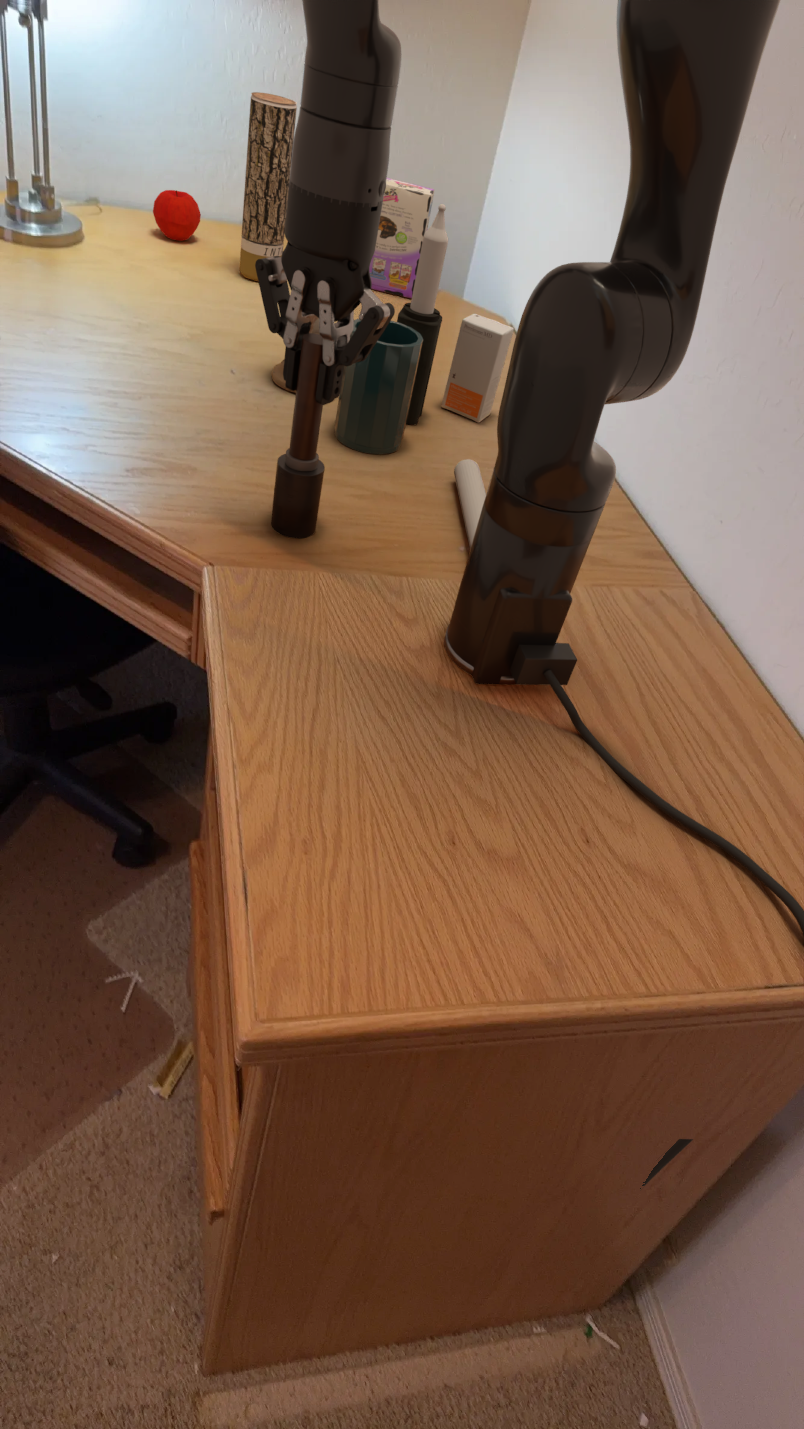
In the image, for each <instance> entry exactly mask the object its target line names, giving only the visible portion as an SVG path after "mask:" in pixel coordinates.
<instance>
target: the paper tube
mask: <svg viewBox="0 0 804 1429" xmlns="http://www.w3.org/2000/svg"><path fill="white" fill-rule="evenodd" d="M250 94H251V96H250V103H249V104H250V105H249V117H248V131H247V132H248V134H247V148H246V162H245V178H244V190H243V191H244V192H243V206H242V207H243V208H242V221H241V222H242V223H241V224H242V225H241V238H240V251H239V252H240V253H239V266H238V267H239V272H240V274H241V275H242V276H243V277H245V278H246V279H248V280H251V281H255V282H258V277H257V273H256V268H255V263H256V261H257V260H258V259H262V258H268V257H273V256H280V257H282V253H283V251H284V242H285V232H284V231H285V221H286V211H287V200H288V190H289V180H290V170H291V160H292V149H293V141H294V135H295V130H296V118H297V110H298V108H297V107H298V106H297V104H298V102H297V101H295V100H293V99H290V98H288V97H284V96H281V95H277V94H273V93H267V92H260V91H259V92H258V91H253V92H251V93H250Z"/></svg>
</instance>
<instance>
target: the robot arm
mask: <svg viewBox="0 0 804 1429" xmlns="http://www.w3.org/2000/svg"><path fill="white" fill-rule="evenodd" d="M301 2H302V10H303V18H304V19H303V20H304V23H305V24H304V26H305V33H306V34H305V35H306V47H305V54H304V63H303V73H302V81H301V82H302V83H301V92H300V103H299V104H300V106H299V111H298V118H297V121H296V125H295V131H294V141H293V149H292V160H291V170H290V180H289V190H288V200H287V211H286V221H285V231H284V232H285V234H284V238H285V239H286V241H287V242H286V245H285V246H284V247H285V248H283V253H282V257H280V256H273V257H268V258H262V259H258V260H257V261H256V263H255V268H256V273H257V277H258V281H257V282H258V286H259V290H260V295H261V300H262V304H263V308H264V313H265V317H266V322H267V327H268V329H269V331H270V332H271V333H272V334H277V335H278V336H279V337H280V338H281V339H282V341H283V344H284V346H285V348H284V349H285V351H284V359H283V360H284V368H283V377H284V380H285V381H286V383H285V386H286V388H288V389H290V390H292V391H295V390H296V388H297V380H298V371H299V363H300V354H301V346H302V337H303V335H305V334H309V333H312V330H313V326H314V323H315V321H316V320H317V319H318V318H319V333H320V336H322V338H323V361H324V362H322V363H320V368H319V376H318V383H317V391H316V398H315V400H316V402H317V403H319V404H321V405H323V406H326V405H328V404H331V403H333V402H334V401H335V399H337V398H338V399H339V394H340V391H341V385H342V378H343V372H344V366H350V365H352V364H354V363H357V362H361V361H364V360H365V359H366V358H367V356H368V355H369V353H370V352H371V350H372V349H373V347H374V345H375V344H376V342H377V341H378V339H379V338H380V336H381V335H382V333H383V332H384V330H385V328H386V327H387V325H388V324H389V322H390V321H392V319H393V317H394V316H395V313H396V311H395V306H394V305H393V304H392V303H391V302H386V303H384V302H382V300H381V299H380V298H379V297H378V296H377V295H376V294H375V292H373V289H371V287H372V282H371V277H370V270H369V267H370V263H371V260H372V257H373V255H374V252H375V247H376V241H377V235H378V228H379V222H380V216H381V210H382V203H383V197H384V192H385V189H386V179H387V178H388V172H389V165H390V153H391V135H392V134H391V133H392V126H393V120H394V113H395V107H396V102H397V101H396V100H397V95H398V88H399V82H400V76H401V67H402V44H401V42H400V38H399V37H398V35H397V34H396V32H395V31H394V30H392V29H391V27H389V26H387V25H386V24H384V23H382V21H381V17H380V8H379V6H380V5H379V0H301ZM780 3H781V0H617V3H616V4H617V5H616V21H615V22H616V23H615V25H616V44H617V56H618V66H619V74H620V80H621V89H622V96H623V103H624V109H625V116H626V117H625V118H626V122H627V131H628V140H629V174H628V176H629V177H628V185H627V190H626V191H627V192H626V197H625V202H624V208H623V213H622V218H621V221H620V226H619V230H618V233H617V238H616V241H615V244H614V248H613V251H612V254H611V257H610V260H609V261H579V262H570V263H565V264H561V265H559V266H556V267H554V268H553V269H551V270H550V271H548V272H547V273H546V274H545V275H544V276H543V277H542V278H541V279H540V280H539V282H538V283H537V284H536V286H535V287H534V289H533V291H532V292H531V294H530V295H529V298H528V299H527V301H526V304H525V306H524V309H523V311H522V314H521V317H520V321H519V324H518V327H517V331H516V334H515V339H514V342H513V346H512V352H511V356H510V361H509V365H508V370H507V373H506V374H507V375H506V380H505V383H504V388H503V392H502V396H501V401H500V405H499V410H498V416H497V424H496V425H497V426H496V436H497V438H496V439H497V456H496V459H495V464H494V466H493V471H492V473H491V477H490V481H489V483H488V487H487V490H486V497H485V501H484V504H483V507H482V511H481V514H480V518H479V521H478V525H477V528H476V532H475V535H474V539H473V542H472V546H471V549H470V548H469V554H468V556H467V560H466V563H465V567H464V571H463V574H462V578H461V580H460V585H459V588H458V591H457V596H456V599H455V601H454V606H453V610H452V613H451V617H450V621H449V624H448V625H447V628H446V630H445V634H444V637H443V638H444V639H443V646H444V650H445V653H446V654H447V656H448V658H449V659H450V660H451V661H452V662H453V663H454V665H456V667H457V668H459V669H460V670H462V671H463V672H465V673H466V674H468V675H470V676H471V678H472V679H473V681H474V683H475V684H476V685H499V686H500V685H503V686H514V685H515V686H516V685H517V686H525V685H526V686H549V687H550V688H551V689H552V691H553V692H554V694H555V695H556V697H557V698H558V700H559V702H560V703H561V705H562V706H563V708H564V710H565V711H566V713H567V715H568V717H569V719H570V721H571V723H572V725H573V727H574V728H575V730H576V731H577V732H578V733H579V735H580V736H581V737H582V738H583V740H584V741H585V742H586V743H587V744H588V746H590V747H591V748H592V750H594V751H595V752H596V753H597V754H598V756H600V757H601V758H602V760H603V761H604V762H605V763H606V764H607V765H608V766H609V767H610V768H611V769H612V770H613V771H614V773H615V774H616V775H618V776H619V777H620V778H621V779H622V780H624V781H625V782H626V783H627V784H628V785H629V786H631V788H633V789H635V791H637V792H638V793H639V794H640V795H641V796H642V797H644V798H645V799H646V800H648V802H649V803H651V804H652V805H654V806H655V807H656V808H657V809H659V810H660V811H661V812H663V813H664V814H665V815H667V816H669V817H670V818H672V819H673V820H675V821H676V822H678V823H679V824H681V825H682V826H683V827H685V828H687V829H689V830H690V831H692V832H693V833H695V834H697V835H698V836H700V837H702V838H703V839H705V840H706V841H709V842H710V843H712V844H713V845H715V846H716V847H717V848H719V849H721V850H723V851H724V852H725V853H726V854H728V855H729V856H730V857H732V858H733V859H735V860H736V861H737V862H738V863H739V864H741V865H742V866H743V867H744V868H745V869H746V870H747V871H748V872H750V873H751V874H752V875H753V876H754V877H755V878H756V879H758V880H759V882H761V883H762V884H763V885H764V886H765V887H767V889H769V891H770V892H772V893H773V894H774V895H775V896H776V897H777V898H778V899H779V900H780V901H781V902H782V903H783V904H784V905H785V906H786V907H787V909H788V910H789V911H790V913H791V914H792V916H793V917H794V918H795V920H796V922H797V924H798V926H799V928H800V931H801V933H802V936H803V937H804V908H803V907H802V906H801V904H800V903H799V902H798V900H796V898H795V897H794V896H793V895H792V894H791V893H790V892H789V891H788V890H787V889H786V888H785V887H784V886H783V885H782V884H780V882H778V881H777V880H776V879H775V878H773V876H771V875H770V874H769V873H768V872H767V871H766V870H764V869H763V868H762V867H761V866H760V865H759V864H757V862H755V861H754V860H753V859H752V858H751V857H750V856H748V855H747V854H746V853H745V852H743V851H742V850H741V849H740V848H738V847H737V846H736V845H734V844H733V843H731V842H730V841H728V840H727V839H725V838H724V837H723V836H721V835H719V834H717V833H716V832H715V831H712V830H711V829H710V828H708V827H707V826H704V825H703V824H701V823H699V822H698V821H696V820H694V819H693V818H692V817H690V816H688V815H687V814H685V813H683V812H682V811H680V810H679V809H677V808H676V807H675V806H673V805H671V804H670V803H669V802H667V801H666V800H664V799H663V798H662V797H661V796H659V795H658V794H657V793H656V792H655V791H653V790H652V789H651V788H650V787H649V786H647V784H645V783H644V782H642V781H641V780H640V779H639V778H637V777H636V776H635V775H634V774H633V773H631V772H630V771H629V770H628V769H626V767H625V766H623V764H621V763H620V762H619V761H618V760H617V759H616V758H615V757H613V755H611V753H610V752H609V751H608V750H607V749H606V748H605V747H604V746H603V745H602V744H601V742H600V741H599V740H598V739H597V738H596V737H595V735H593V733H592V732H591V730H590V729H589V728H588V727H587V725H586V724H585V722H584V721H583V720H582V719H581V716H580V714H579V712H578V710H577V709H576V707H575V705H574V703H573V702H572V699H571V698H570V697H569V695H568V693H567V692H566V691H565V689H564V687H563V686H568V683H569V681H570V679H571V677H572V674H573V672H574V669H575V668H576V665H577V662H578V658H577V656H576V654H575V653H574V651H573V649H572V647H571V645H570V643H568V642H557V641H558V638H559V637H560V634H561V631H562V629H563V626H564V624H565V620H566V619H567V616H568V613H569V611H570V609H571V605H572V603H573V596H572V595H571V593H572V591H573V588H574V585H575V583H576V580H577V577H578V575H579V573H580V569H581V568H582V564H583V562H584V559H585V557H586V554H587V551H588V549H589V546H590V544H591V541H592V538H593V536H594V535H595V531H596V529H597V526H598V524H599V521H600V518H601V517H602V513H603V511H604V508H605V506H606V503H607V501H608V498H609V496H610V493H611V490H612V489H613V486H614V483H615V479H616V474H617V467H616V462H615V460H614V458H613V457H612V455H611V454H610V452H608V451H607V450H606V449H605V448H604V447H603V446H602V445H600V444H599V443H598V442H596V441H595V437H596V435H597V431H598V428H599V424H600V420H601V417H602V414H603V410H604V407H605V405H611V404H612V405H613V404H621V403H627V402H628V403H629V402H633V401H638V400H644V399H646V398H649V397H650V396H653V395H655V394H657V393H658V392H659V391H661V390H662V389H664V388H665V386H667V385H668V383H670V382H671V380H672V379H673V378H674V377H675V375H676V373H677V372H678V371H679V369H680V366H681V365H682V363H683V361H684V358H685V356H686V354H687V352H688V350H689V347H690V343H691V339H692V337H693V333H694V329H695V325H696V322H697V318H698V313H699V308H700V303H701V299H702V294H703V289H704V284H705V280H706V274H707V269H708V264H709V261H710V255H711V251H712V245H713V241H714V235H715V230H716V226H717V223H718V217H719V212H720V208H721V205H722V200H723V196H724V191H725V188H726V184H727V182H728V176H729V174H730V170H731V167H732V162H733V160H734V157H735V153H736V149H737V146H738V142H739V140H740V135H741V132H742V128H743V126H744V125H743V124H744V122H745V118H746V113H747V110H748V107H749V104H750V100H751V96H752V93H753V89H754V85H755V81H756V79H757V75H758V71H759V69H760V64H761V61H762V58H763V54H764V51H765V49H766V45H767V42H768V39H769V36H770V32H771V29H772V27H773V24H774V21H775V18H776V15H777V12H778V9H779V6H780ZM289 288H290V289H289ZM360 304H361V308H360V312H359V315H358V319H359V320H361V322H360V324H359V326H358V327H357V329H356V330H355V332H354V334H353V335H352V337H351V339H350V335H351V333H352V331H353V325H354V320H355V311H356V309H357V308H358V307H359V306H360ZM693 1141H694V1139H693V1138H679V1139H678V1140H677V1141H676V1143H675V1142H674V1143H675V1144H674V1143H673V1144H674V1145H673V1144H672V1145H673V1146H672V1145H671V1146H672V1147H671V1146H670V1147H671V1148H670V1147H669V1148H670V1149H669V1148H668V1149H669V1150H668V1149H667V1150H668V1151H667V1150H666V1151H667V1152H666V1151H665V1152H666V1153H665V1152H664V1153H665V1155H664V1156H663V1158H662V1159H661V1160H660V1161H659V1162H658V1164H657V1165H656V1166H655V1167H654V1168H653V1170H652V1171H651V1173H650V1174H649V1176H648V1178H647V1179H646V1181H645V1182H643V1183H645V1184H643V1185H642V1186H644V1187H645V1186H647V1184H648V1183H649V1182H650V1181H651V1180H653V1178H654V1177H655V1176H657V1175H658V1173H660V1171H662V1170H663V1169H664V1168H665V1167H666V1166H667V1165H668V1164H669V1163H670V1162H671V1161H672V1160H673V1159H674V1158H676V1156H678V1155H679V1154H680V1153H681V1152H682V1151H683V1150H684V1149H685V1148H686V1147H688V1145H689V1144H691V1143H692V1142H693ZM640 1189H641V1188H640ZM641 1190H642V1189H641Z"/></svg>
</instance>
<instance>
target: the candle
mask: <svg viewBox="0 0 804 1429" xmlns="http://www.w3.org/2000/svg"><path fill="white" fill-rule="evenodd" d="M437 209H438V212H437V213H436V216H435V217H434V220H433V222H432V223H431V225H430V226H429V227H428V230H427V231H426V232H425V234H424V237H423V243H422V248H421V253H420V258H419V264H418V269H417V274H416V279H415V285H414V290H413V295H412V298H411V301H410V302H406V303H404V304H403V306H402V308H401V309H400V311H399V312H398V313H397V319H396V322H399V323H402V324H404V325H406V326H409V327H411V328H413V329H414V330H416V331H417V332H419V333H420V334H421V336H422V338H423V344H422V349H421V353H420V358H419V363H418V368H417V373H416V378H415V382H414V387H413V392H412V397H411V402H410V407H409V411H408V416H407V421H406V425H409V426H414V425H417V424H418V422H419V418H420V417H421V416H422V414H423V410H424V405H425V400H426V396H427V392H428V386H429V382H430V377H431V373H432V368H433V364H434V358H435V354H436V349H437V345H438V340H439V336H440V332H441V326H442V322H443V316H442V315H441V312H440V310H438V309H437V308H436V301H437V298H438V297H437V296H438V292H439V288H440V283H441V278H442V272H443V269H444V263H445V258H446V255H447V254H446V253H447V249H448V245H449V237H448V233H447V230H446V221H445V212H446V209H447V207H446V205H445V204H444V203H440V204H439V205H438V207H437Z"/></svg>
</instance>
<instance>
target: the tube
mask: <svg viewBox="0 0 804 1429" xmlns="http://www.w3.org/2000/svg"><path fill="white" fill-rule="evenodd" d="M453 474H454V480H455V485H456V489H457V494H458V498H459V503H460V507H461V514H462V516H463V521H464V526H465V527H464V528H465V531H466V536H467V541H468V545H469V546H468V547H469V550H470V549H471V546H472V542H473V539H474V535H475V532H476V528H477V525H478V521H479V518H480V514H481V511H482V507H483V504H484V501H485V497H486V494H487V491H486V488H485V484H484V481H483V477H482V472H481V469H480V466H479V464H478V463H477V462H476V461H475V460H474V459H471V458H466V459H462V460H460V461H458V462H457V464H455V466H454V469H453Z"/></svg>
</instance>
